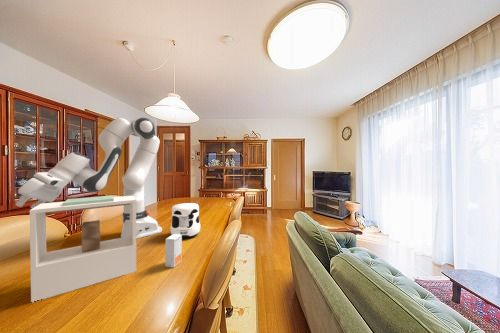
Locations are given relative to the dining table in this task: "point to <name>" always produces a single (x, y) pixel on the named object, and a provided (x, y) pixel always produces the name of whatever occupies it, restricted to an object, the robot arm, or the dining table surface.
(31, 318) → the dining table surface
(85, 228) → the walnut block
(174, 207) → the milk container
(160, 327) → the dining table surface
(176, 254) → the skincare box
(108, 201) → the box
